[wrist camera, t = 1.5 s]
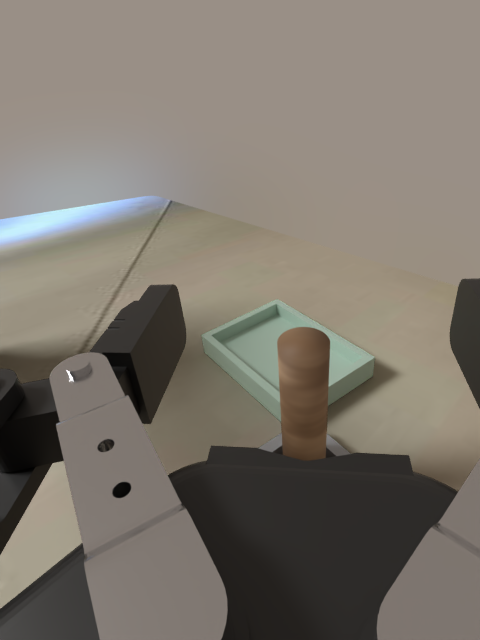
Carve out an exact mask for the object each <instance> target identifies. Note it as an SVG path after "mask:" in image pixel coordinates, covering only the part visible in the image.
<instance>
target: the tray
mask: <svg viewBox="0 0 480 640" xmlns="http://www.w3.org/2000/svg"><path fill="white" fill-rule="evenodd" d="M297 327H311V328H315V329H318V330H320V331H322V332H324V333H325V334H326V335H327V336H328V337H329V339H330V363H329V388H328V406H329V405H330V404H332V403H333V402H335V401H336V400H338V399H339V398H341V397H342V396H344V395H345V394H347V393H348V392H350V391H351V390H353V389H354V388H356V387H357V386H359V385H360V384H362V383H363V382H365V381H366V380H368V379H369V378H371V377H372V376H373V370H374V362H375V357H374V356H372V355H370V354H369V353H367V352H365V351H364V350H362V349H360V348H359V347H357V346H355V345H354V344H352V343H350V342H349V341H347V340H345V339H344V338H342V337H340V336H339V335H337V334H335V333H334V332H332V331H330V330H329V329H327V328H325V327H323V326H322V325H320V324H318V323H317V322H315V321H313V320H312V319H310V318H308V317H307V316H305V315H303V314H302V313H300V312H298V311H297V310H295V309H293V308H292V307H290V306H288V305H287V304H285V303H283V302H282V301H280V300H278V299H276V300H274V301H272V302H270V303H268V304H265V305H263V306H261V307H259V308H257V309H255V310H253V311H251V312H249V313H246V314H244V315H242V316H240V317H238V318H236V319H234V320H232V321H230V322H228V323H225V324H223V325H221V326H219V327H217V328H215V329H213V330H211V331H209V332H206V333H204V334H202V335H201V336H202V342H203V347H204V352H205V353H206V354H207V355H208V356H209V357H210V358H211V359H212V360H213V361H214V362H216V363H217V364H218V365H219V366H220V367H221V368H222V369H223V370H224V371H225V372H227V373H228V374H229V375H230V376H231V377H232V378H233V379H234V380H235V381H236V382H238V383H239V384H240V385H241V386H242V387H243V388H244V389H245V390H246V391H247V392H249V393H250V394H251V395H252V396H253V397H254V398H255V399H256V400H257V401H258V402H259V403H261V404H262V405H263V406H264V407H265V408H266V409H267V410H268V411H269V412H270V413H272V414H273V415H274V416H275V417H276V418H277V419H278V420H279V421H280V422H281V409H280V389H279V369H278V349H277V341H278V338H279V336H280V335H281V334H282V333H284V332H285V331H287V330H289V329H292V328H297Z"/></svg>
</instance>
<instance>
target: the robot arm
mask: <svg viewBox="0 0 480 640" xmlns="http://www.w3.org/2000/svg"><path fill="white" fill-rule="evenodd" d="M185 343H186V328H185V322H184V317H183V312H182V307H181V302H180V297H179V292H178V289H177V287H176V286H175V285H150V286H149V287H148V288H147V290H146V291H145V293H144V294H143V295H142V297H141V298H140V300H139V301H133V302H132V303H130V304H129V305H127V306H126V307H125V308H123V309H122V310H121V311H120V312H119V313H118V315H117V316H116V317H115V319H114V321H112V323H111V324H110V325H109V327H108V329H106V331H105V332H104V333H103V335H102V336H101V337H100V339H99V340H98V341H97V343H96V344H95V345H94V347H93V348H92V349H91V351H90V352H89V353H82V354H78V355H74V356H72V357H69V358H67V359H65V360H64V361H62V362H61V363H59V364H58V365H57V366H56V367H55V368H54V369H53V370H52V372H51V374H50V377H49V378H48V379H43V380H38V381H33V382H28V383H23V384H20V382H19V380H18V377H17V375H16V374H15V372H14V371H12V370H10V369H0V554H1V553H2V551H3V549H4V547H5V546H6V544H7V542H8V540H9V539H10V537H11V535H12V533H13V532H14V530H15V528H16V526H17V525H18V523H19V521H20V519H21V518H22V516H23V514H24V512H25V511H26V509H27V507H28V505H29V504H30V502H31V500H32V498H33V497H34V495H35V493H36V491H37V490H38V488H39V486H40V484H41V482H42V481H43V479H44V477H45V475H46V474H47V472H48V470H49V468H50V467H51V465H52V463H55V462H60V461H64V463H65V468H66V472H67V477H68V481H69V485H70V490H71V494H72V499H73V503H74V508H75V512H76V516H77V521H78V525H79V530H80V534H81V538H82V544H80V545H79V546H78V547H77V548H75V549H74V550H73V551H72V552H70V553H69V554H68V555H67V556H65V557H64V558H63V559H62V560H60V561H59V562H58V563H57V564H55V565H54V566H53V567H52V568H51V569H49V570H48V571H47V572H46V573H44V574H43V575H42V576H41V577H39V578H38V579H37V580H36V581H34V582H33V583H32V584H31V585H29V586H28V587H27V588H26V589H25V590H23V591H22V592H21V593H20V594H18V595H17V596H16V597H15V598H13V599H12V600H11V601H10V602H8V603H7V604H6V605H5V606H3V607H2V608H1V609H0V640H480V459H479V461H478V462H477V464H476V465H475V467H474V468H473V470H472V471H471V473H470V475H469V476H468V478H467V479H466V481H465V482H464V484H463V485H462V487H461V489H460V490H459V492H458V491H456V490H454V489H453V488H451V487H449V486H447V485H446V484H444V483H441V482H439V481H437V480H435V479H433V478H430V477H427V476H425V475H422V474H419V473H415V472H413V471H412V466H411V462H410V458H409V455H389V454H368V453H354V454H348V455H341V456H335V457H329V458H323V459H317V460H310V461H304V460H299V459H296V458H292V457H288V456H284V455H281V454H277V453H273V452H269V451H266V450H262V449H258V448H245V447H225V446H211V448H210V452H209V456H208V460H207V461H203V462H198V463H195V464H191V465H189V466H186V467H183V468H181V469H179V470H177V471H175V472H173V473H171V474H169V475H167V473H166V471H165V469H164V467H163V465H162V463H161V461H160V459H159V457H158V455H157V453H156V451H155V449H154V447H153V445H152V443H151V441H150V439H149V436H148V434H147V432H146V430H145V428H144V426H143V424H151V422H152V420H153V418H154V415H155V413H156V411H157V409H158V406H159V404H160V402H161V400H162V397H163V395H164V393H165V391H166V388H167V386H168V384H169V381H170V379H171V377H172V375H173V372H174V370H175V368H176V366H177V363H178V361H179V359H180V357H181V354H182V352H183V350H184V347H185ZM450 344H451V348H452V351H453V353H454V355H455V358H456V360H457V362H458V364H459V366H460V368H461V370H462V372H463V374H464V377H465V379H466V381H467V383H468V385H469V387H470V389H471V391H472V394H473V396H474V398H475V400H476V402H477V404H478V406H479V408H480V279H462V280H461V282H460V284H459V287H458V291H457V296H456V302H455V307H454V312H453V317H452V322H451V327H450ZM142 423H143V424H142Z"/></svg>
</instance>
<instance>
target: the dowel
mask: <svg viewBox="0 0 480 640" xmlns="http://www.w3.org/2000/svg"><path fill="white" fill-rule="evenodd" d="M277 349H278V369H279V389H280V409H281V428H282V448H283V455H284V456H288V457H292V458H296V459H299V460H304V461H310V460H317V459H323V458H326V438H327V413H328V388H329V363H330V339H329V337H328V336H327V335H326V334H325V333H324V332H322V331H320V330H318V329H315V328H311V327H297V328H292V329H289V330H287V331H285V332H284V333H282V334H281V335H280V336H279V338H278V341H277Z"/></svg>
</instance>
